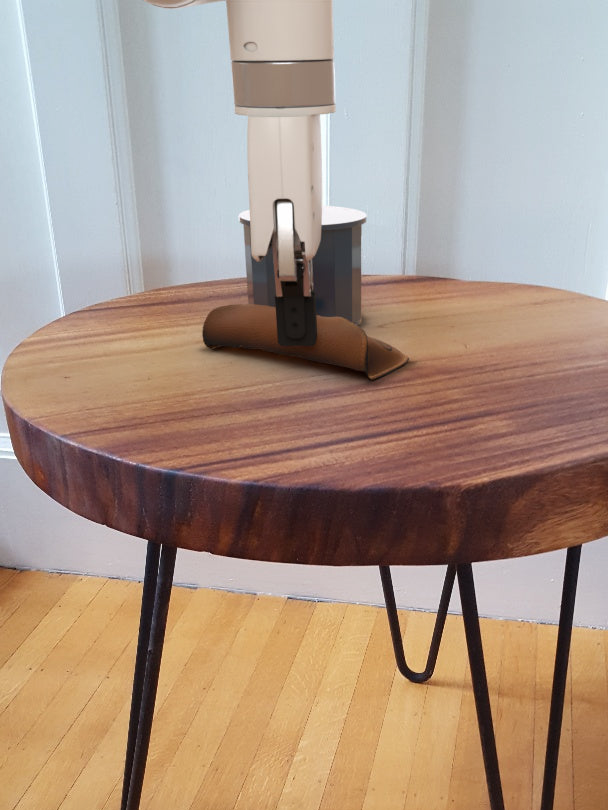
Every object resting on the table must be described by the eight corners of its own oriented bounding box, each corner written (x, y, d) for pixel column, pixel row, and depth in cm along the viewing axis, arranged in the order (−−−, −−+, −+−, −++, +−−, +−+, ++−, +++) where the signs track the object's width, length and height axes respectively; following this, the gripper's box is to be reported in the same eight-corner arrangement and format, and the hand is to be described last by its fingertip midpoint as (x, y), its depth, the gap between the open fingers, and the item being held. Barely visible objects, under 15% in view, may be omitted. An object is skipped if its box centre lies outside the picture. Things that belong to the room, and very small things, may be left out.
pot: (299, 342, 91) (296, 235, 86) (227, 319, 98) (220, 219, 93) (384, 321, 98) (385, 221, 93) (311, 302, 105) (308, 207, 100)
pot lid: (295, 243, 86) (294, 186, 83) (213, 225, 93) (209, 173, 91) (393, 227, 93) (394, 175, 91) (309, 212, 100) (308, 163, 98)
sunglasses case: (416, 354, 86) (398, 295, 81) (381, 412, 84) (360, 355, 78) (256, 326, 94) (230, 271, 88) (220, 378, 92) (191, 325, 86)
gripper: (247, 85, 77) (264, 321, 87) (217, 97, 64) (241, 370, 74) (340, 84, 77) (346, 320, 87) (328, 96, 64) (337, 369, 74)
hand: (297, 342), depth 81 cm, fingers closed
